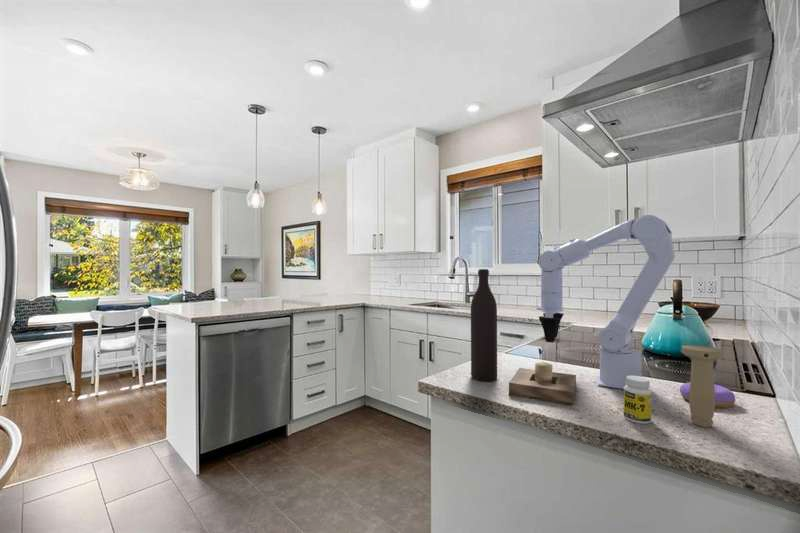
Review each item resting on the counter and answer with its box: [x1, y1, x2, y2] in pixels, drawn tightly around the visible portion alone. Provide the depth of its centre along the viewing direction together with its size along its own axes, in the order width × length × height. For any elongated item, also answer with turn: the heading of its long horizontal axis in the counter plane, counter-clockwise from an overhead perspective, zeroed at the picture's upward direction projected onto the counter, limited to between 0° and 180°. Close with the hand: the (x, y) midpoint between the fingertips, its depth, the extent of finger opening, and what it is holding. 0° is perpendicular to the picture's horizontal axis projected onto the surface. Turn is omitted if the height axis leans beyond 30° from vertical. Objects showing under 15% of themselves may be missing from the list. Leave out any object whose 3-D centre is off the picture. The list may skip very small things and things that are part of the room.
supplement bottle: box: [622, 376, 653, 425], centre depth 76 cm, size 5×5×8 cm
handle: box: [681, 345, 725, 428], centre depth 74 cm, size 5×6×15 cm
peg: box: [534, 361, 553, 384], centre depth 93 cm, size 4×4×6 cm
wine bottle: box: [470, 268, 498, 382], centre depth 103 cm, size 7×7×30 cm
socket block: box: [508, 367, 577, 406], centre depth 93 cm, size 14×14×3 cm
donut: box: [679, 381, 736, 408], centre depth 86 cm, size 10×9×5 cm
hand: (551, 339), depth 109 cm, fingers open, 7 cm apart
